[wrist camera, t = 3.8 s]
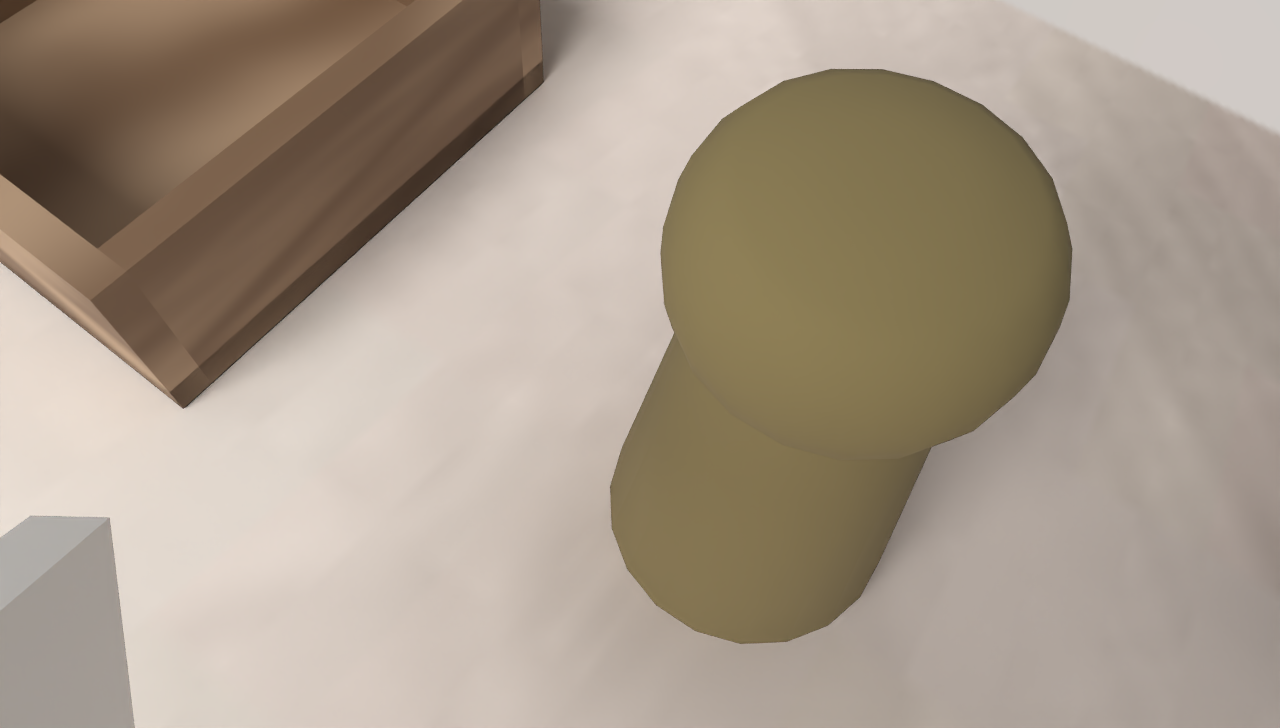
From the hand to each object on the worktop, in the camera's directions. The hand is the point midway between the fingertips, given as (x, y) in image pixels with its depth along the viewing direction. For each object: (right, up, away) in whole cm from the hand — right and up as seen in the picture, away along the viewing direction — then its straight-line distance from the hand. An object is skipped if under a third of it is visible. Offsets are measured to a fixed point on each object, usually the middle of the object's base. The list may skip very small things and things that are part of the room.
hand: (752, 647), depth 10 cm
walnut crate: (-13, +10, +15) cm, 22 cm away
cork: (+1, 0, +11) cm, 11 cm away
